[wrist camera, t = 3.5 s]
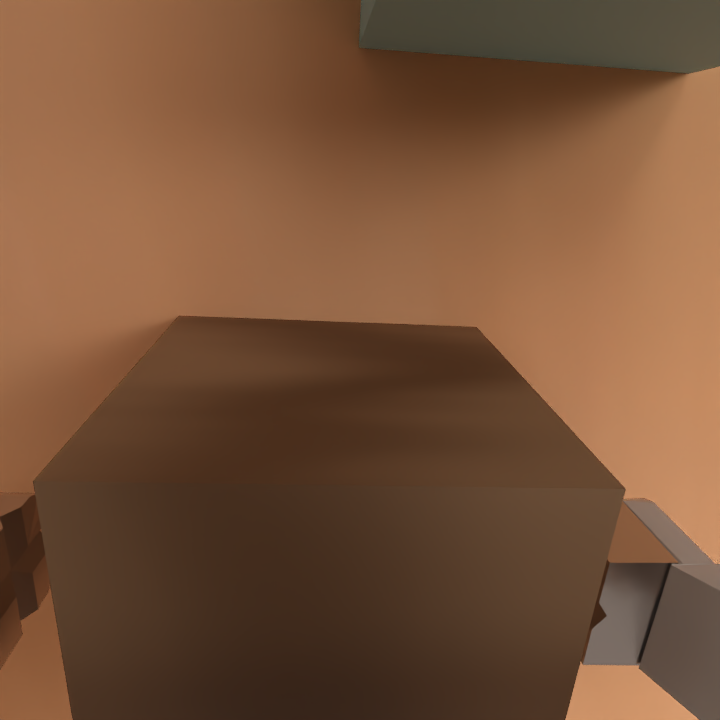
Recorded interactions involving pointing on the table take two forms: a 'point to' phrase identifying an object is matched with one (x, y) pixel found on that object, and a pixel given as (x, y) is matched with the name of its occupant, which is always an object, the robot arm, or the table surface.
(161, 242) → the table surface
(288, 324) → the walnut cube
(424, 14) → the teal cube
